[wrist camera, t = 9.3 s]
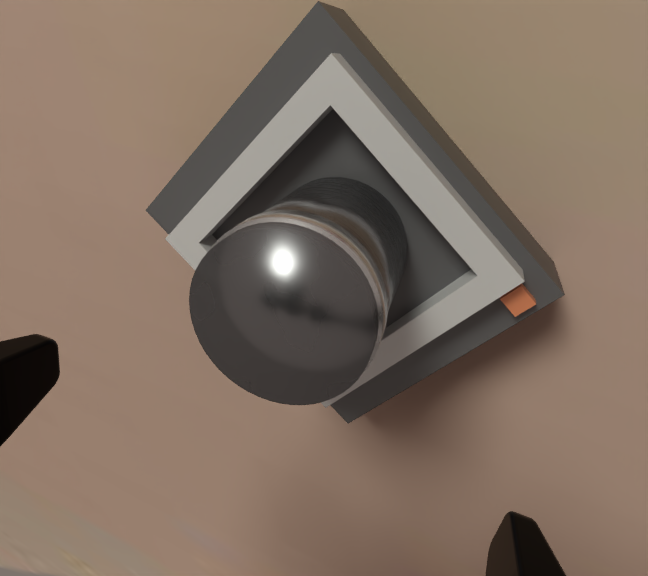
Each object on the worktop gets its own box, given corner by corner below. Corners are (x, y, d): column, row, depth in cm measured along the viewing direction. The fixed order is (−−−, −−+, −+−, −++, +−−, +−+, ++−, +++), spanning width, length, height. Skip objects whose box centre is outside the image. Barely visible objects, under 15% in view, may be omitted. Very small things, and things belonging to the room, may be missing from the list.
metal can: (383, 331, 19) (344, 435, 14) (258, 282, 20) (175, 364, 14) (432, 203, 16) (408, 270, 11) (287, 153, 17) (200, 194, 12)
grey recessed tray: (553, 262, 19) (569, 308, 15) (363, 383, 24) (342, 439, 20) (343, 9, 18) (307, -3, 14) (185, 192, 22) (129, 217, 19)
